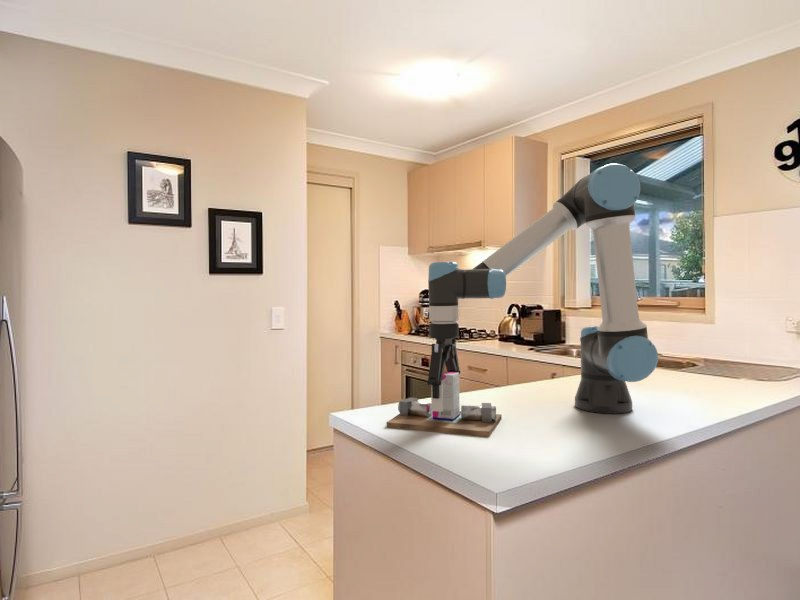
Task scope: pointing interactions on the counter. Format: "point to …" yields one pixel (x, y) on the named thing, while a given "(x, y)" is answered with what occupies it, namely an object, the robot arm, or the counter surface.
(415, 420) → the board
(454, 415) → the supplement box
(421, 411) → the shaft
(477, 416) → the grey collared shaft
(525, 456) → the counter surface
